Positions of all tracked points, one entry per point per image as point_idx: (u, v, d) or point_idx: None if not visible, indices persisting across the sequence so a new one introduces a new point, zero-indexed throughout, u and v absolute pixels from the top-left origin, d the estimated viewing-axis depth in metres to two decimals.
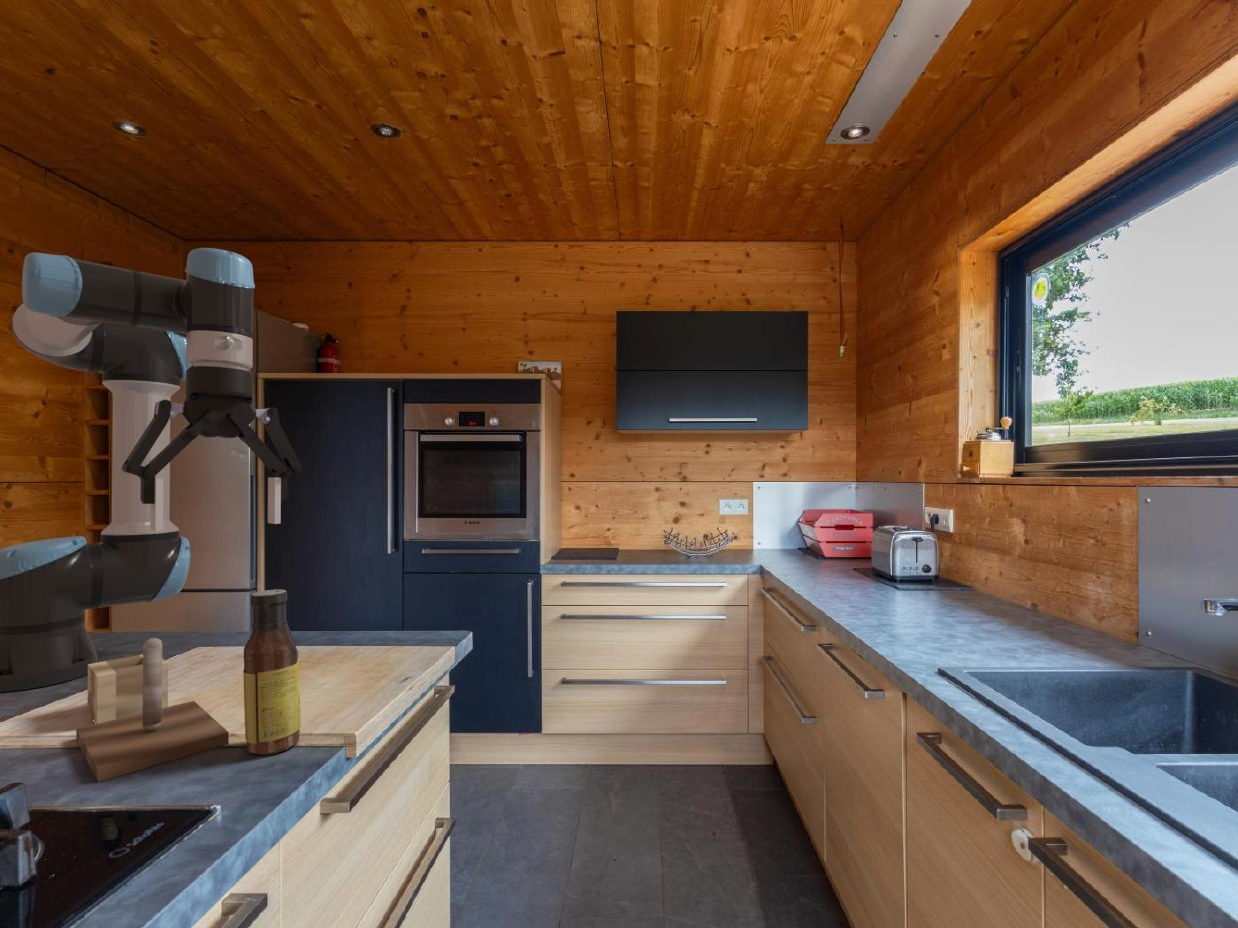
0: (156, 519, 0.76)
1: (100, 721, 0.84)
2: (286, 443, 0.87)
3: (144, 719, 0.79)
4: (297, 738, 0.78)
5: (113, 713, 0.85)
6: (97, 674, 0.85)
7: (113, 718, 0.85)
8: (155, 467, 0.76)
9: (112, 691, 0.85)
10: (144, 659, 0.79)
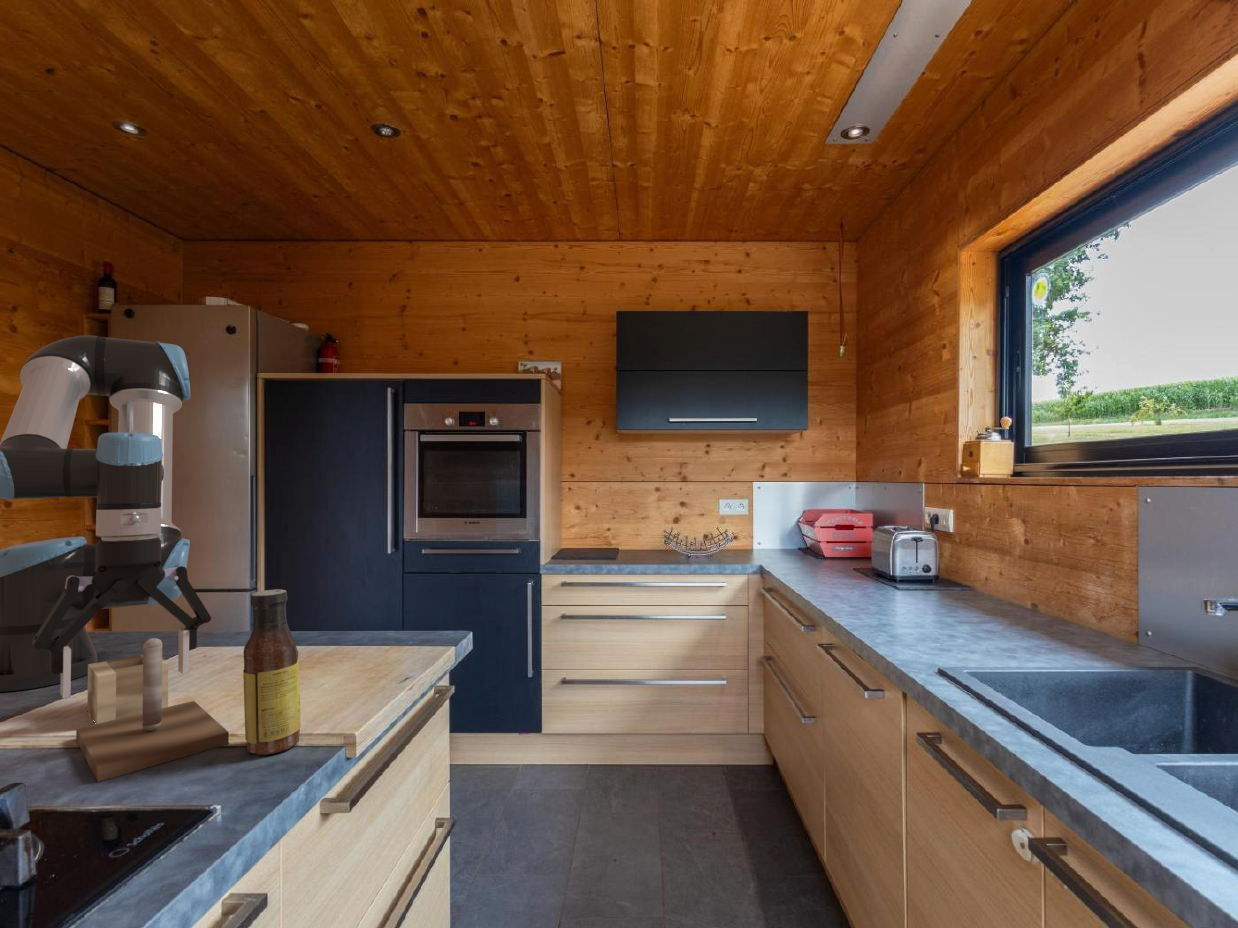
0: (64, 687, 0.83)
1: (100, 721, 0.84)
2: (195, 597, 0.94)
3: (144, 719, 0.79)
4: (297, 738, 0.78)
5: (113, 713, 0.85)
6: (97, 674, 0.85)
7: (113, 718, 0.85)
8: (63, 639, 0.83)
9: (112, 691, 0.85)
10: (144, 659, 0.79)
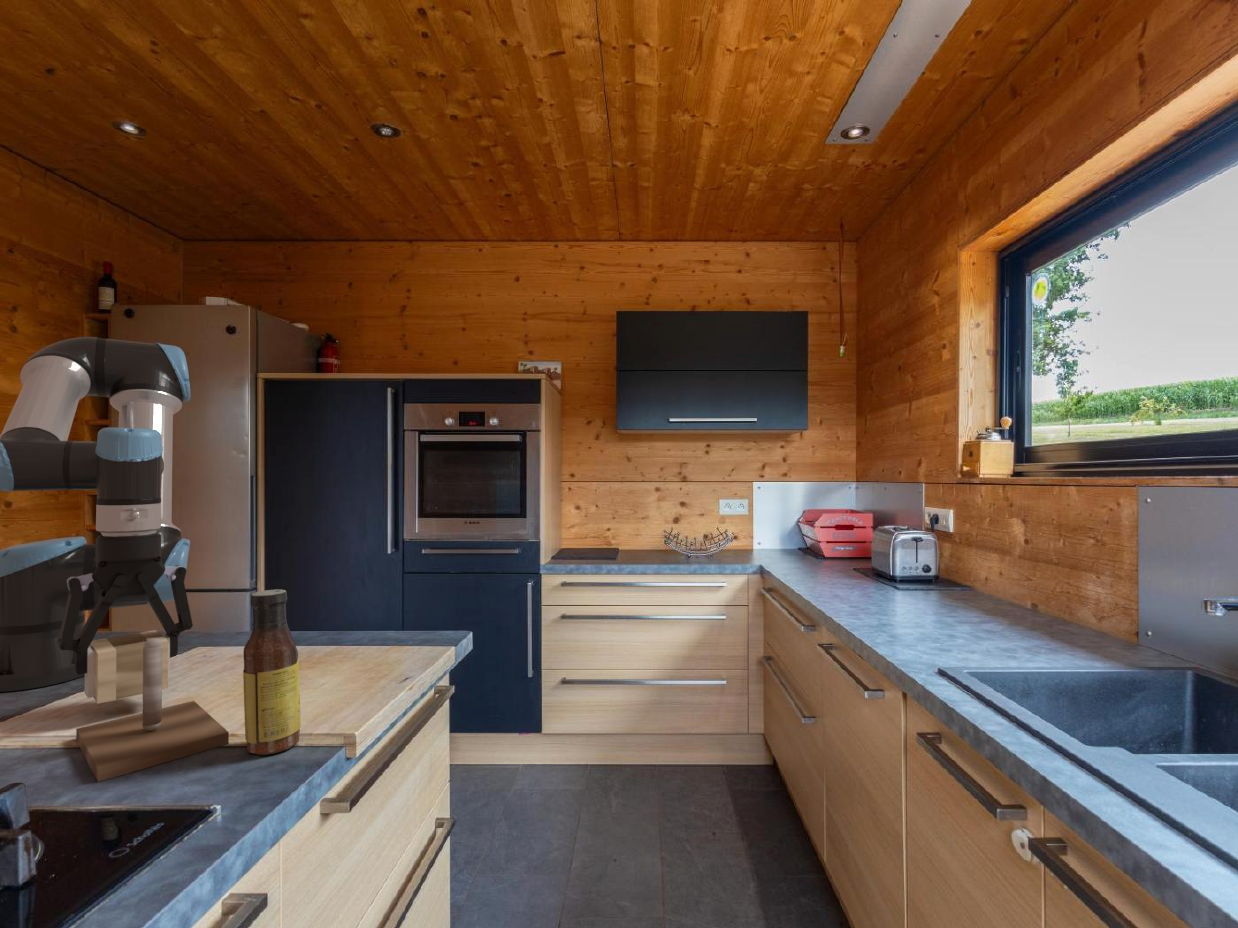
0: (88, 687, 0.85)
1: (100, 697, 0.85)
2: (184, 601, 0.94)
3: (144, 719, 0.79)
4: (297, 738, 0.78)
5: (113, 689, 0.86)
6: (97, 651, 0.85)
7: (113, 694, 0.86)
8: (85, 640, 0.85)
9: (112, 668, 0.85)
10: (144, 659, 0.79)
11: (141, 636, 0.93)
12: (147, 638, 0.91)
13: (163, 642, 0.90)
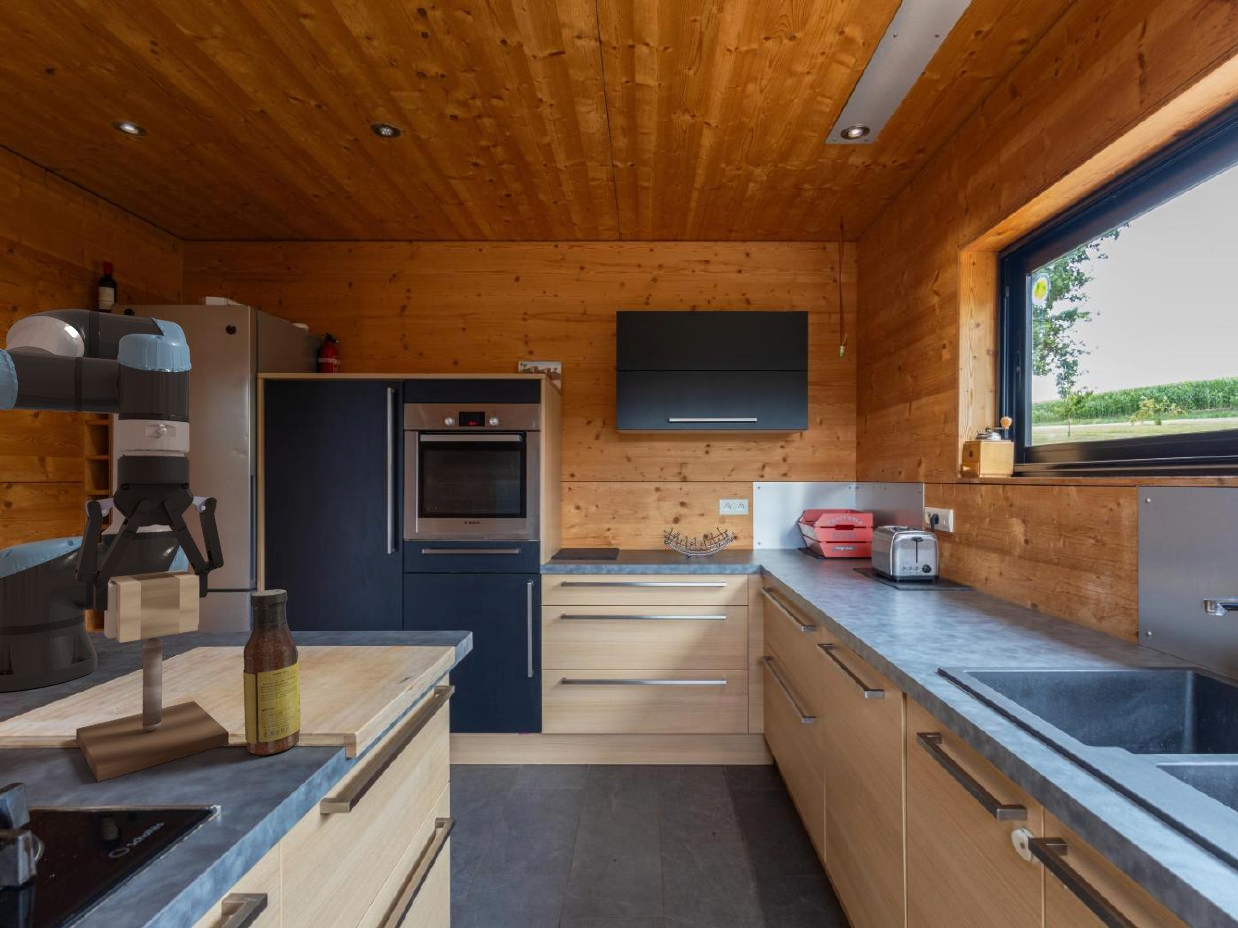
0: (109, 626, 0.75)
1: (123, 636, 0.74)
2: (214, 536, 0.84)
3: (144, 719, 0.79)
4: (297, 738, 0.78)
5: (138, 628, 0.75)
6: (120, 583, 0.75)
7: (138, 633, 0.75)
8: (106, 572, 0.75)
9: (136, 603, 0.75)
10: (144, 659, 0.79)
11: (167, 574, 0.82)
12: (174, 575, 0.81)
13: (192, 577, 0.80)
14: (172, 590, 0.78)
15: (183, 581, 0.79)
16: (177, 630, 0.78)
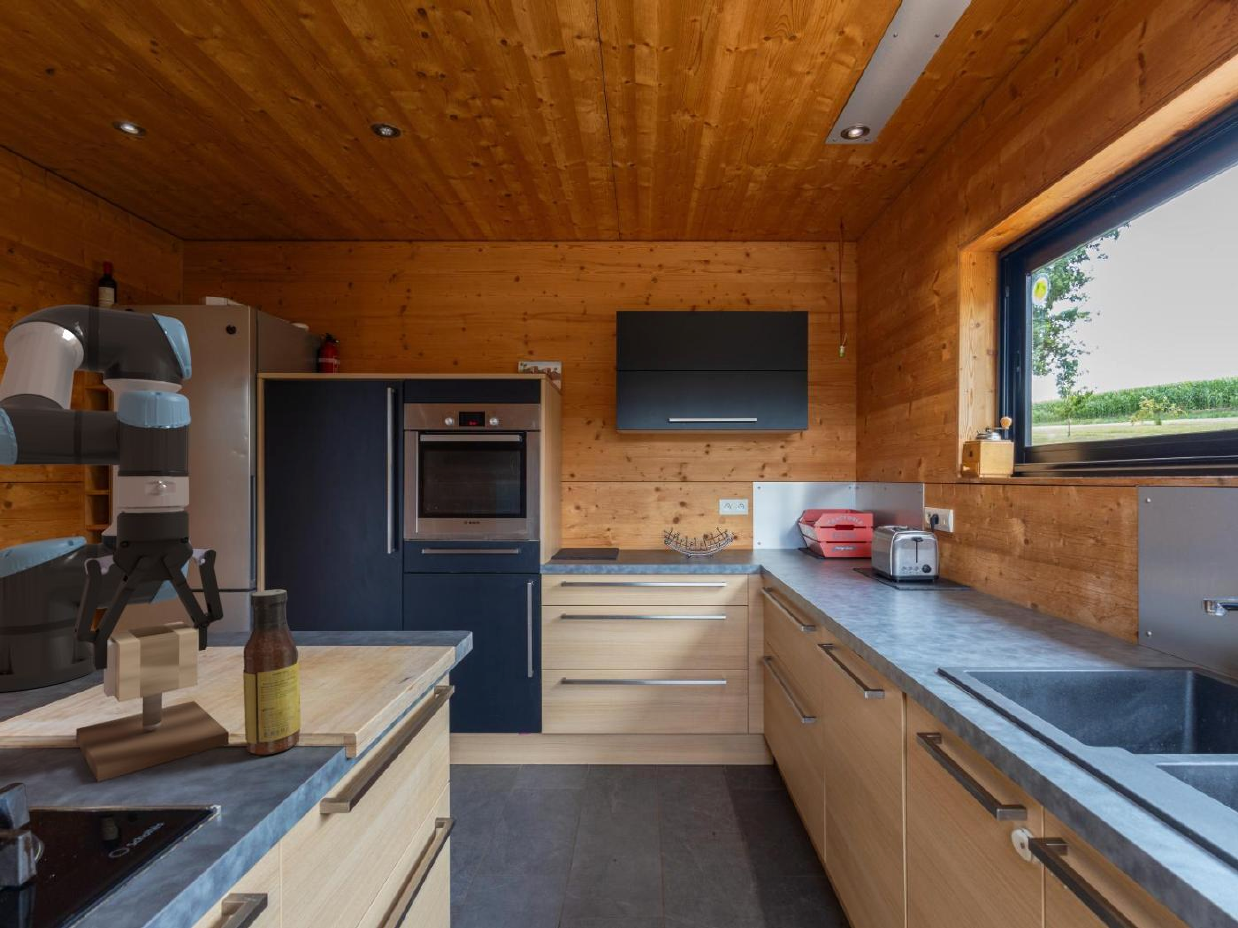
0: (108, 684, 0.75)
1: (123, 695, 0.74)
2: (214, 588, 0.84)
3: (144, 719, 0.79)
4: (297, 738, 0.78)
5: (137, 686, 0.75)
6: (119, 642, 0.75)
7: (137, 692, 0.75)
8: (105, 631, 0.75)
9: (136, 661, 0.75)
10: None
11: (166, 627, 0.82)
12: (173, 629, 0.81)
13: (192, 633, 0.80)
14: (171, 647, 0.78)
15: (183, 636, 0.79)
16: (176, 686, 0.78)
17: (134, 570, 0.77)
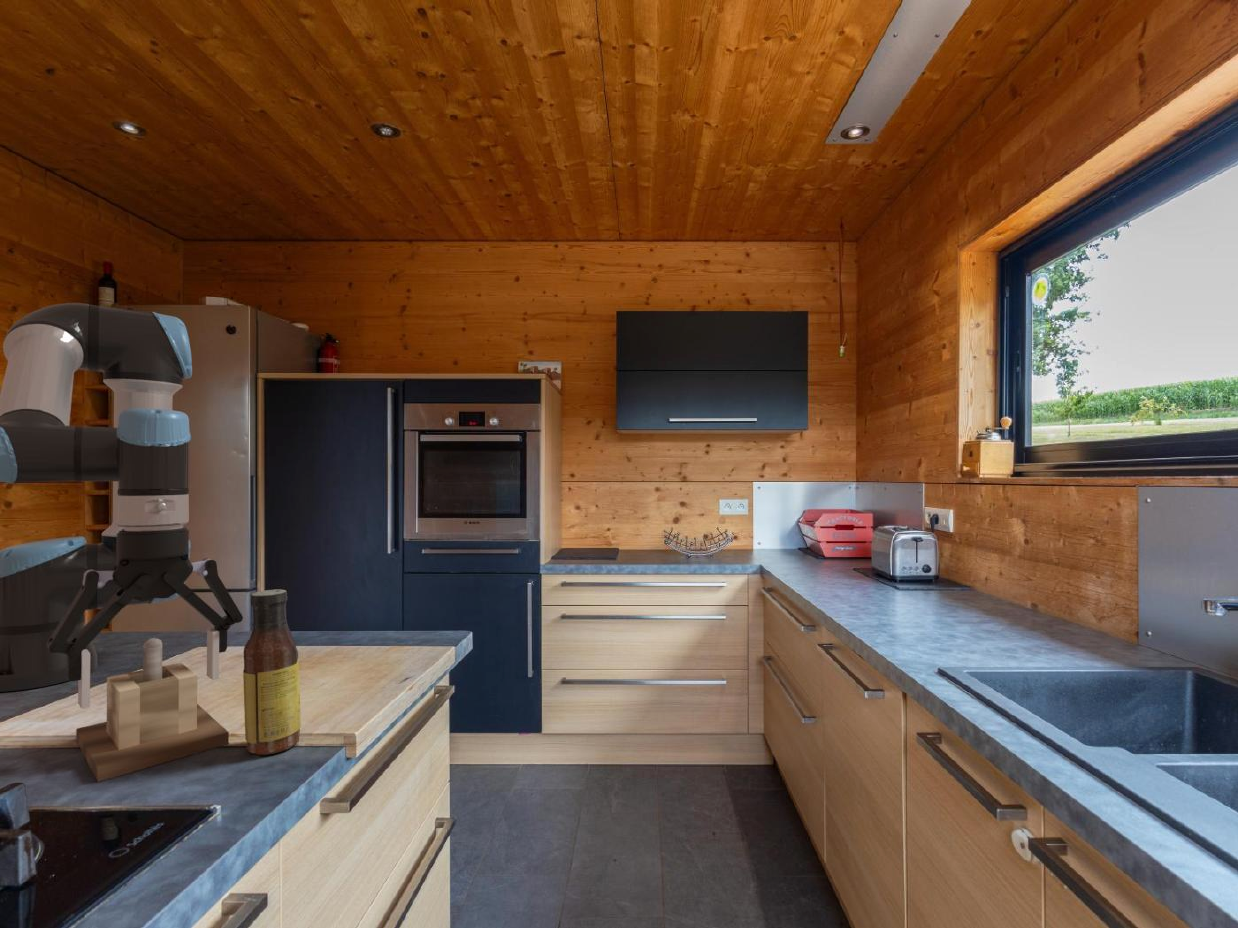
0: (82, 696, 0.73)
1: (122, 742, 0.74)
2: (225, 594, 0.85)
3: None
4: (297, 738, 0.78)
5: (137, 733, 0.75)
6: (119, 689, 0.75)
7: (137, 739, 0.75)
8: (82, 642, 0.73)
9: (136, 708, 0.75)
10: (144, 659, 0.79)
11: (166, 670, 0.82)
12: (173, 672, 0.81)
13: (191, 677, 0.80)
14: (171, 692, 0.78)
15: (182, 681, 0.79)
16: (176, 731, 0.78)
17: (134, 588, 0.77)
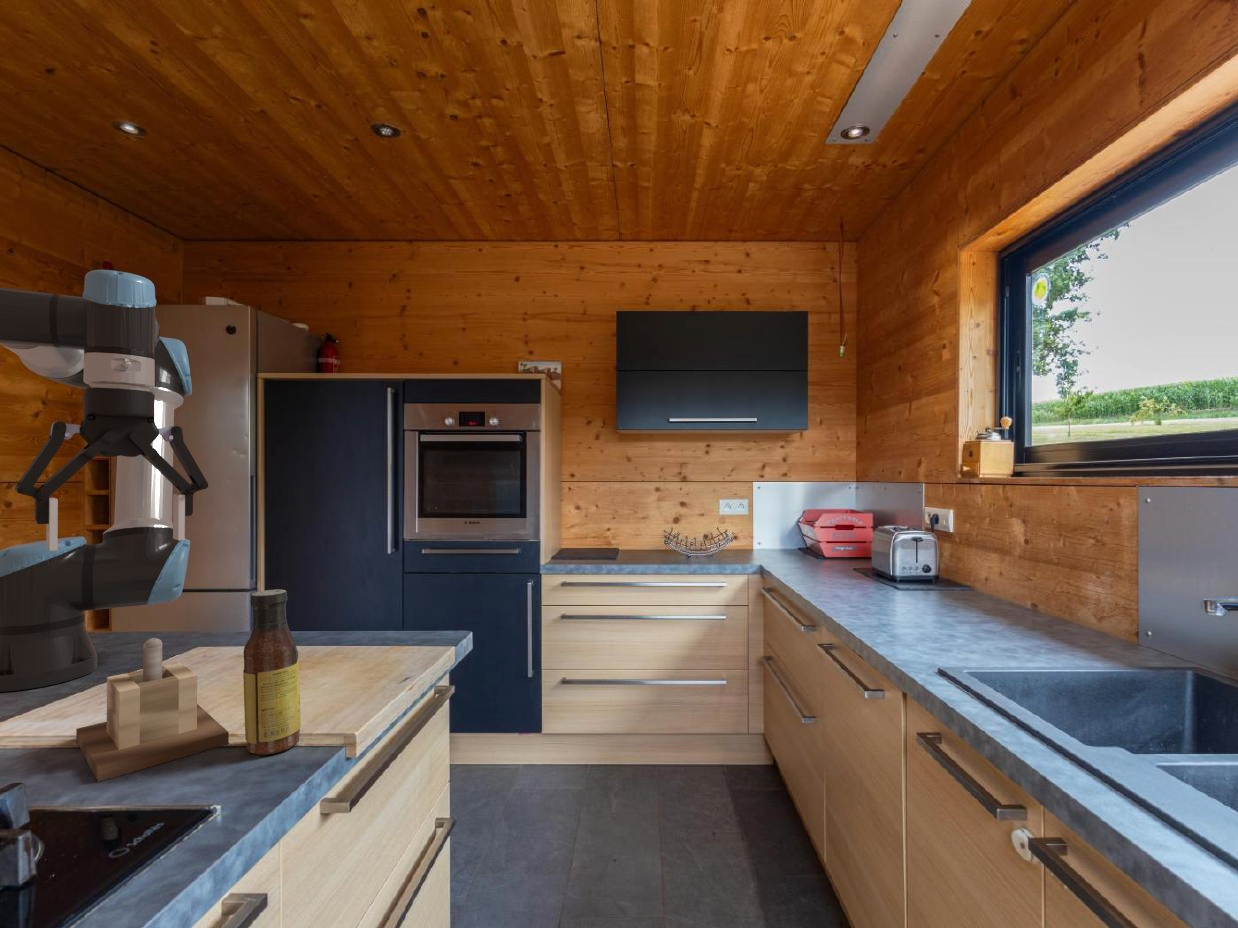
0: (50, 539, 0.77)
1: (122, 742, 0.74)
2: (191, 461, 0.88)
3: None
4: (297, 738, 0.78)
5: (137, 733, 0.75)
6: (119, 689, 0.75)
7: (137, 739, 0.75)
8: (49, 488, 0.77)
9: (136, 708, 0.75)
10: (144, 659, 0.79)
11: (166, 670, 0.82)
12: (173, 672, 0.81)
13: (191, 677, 0.80)
14: (171, 692, 0.78)
15: (182, 681, 0.79)
16: (176, 731, 0.78)
17: (100, 443, 0.80)
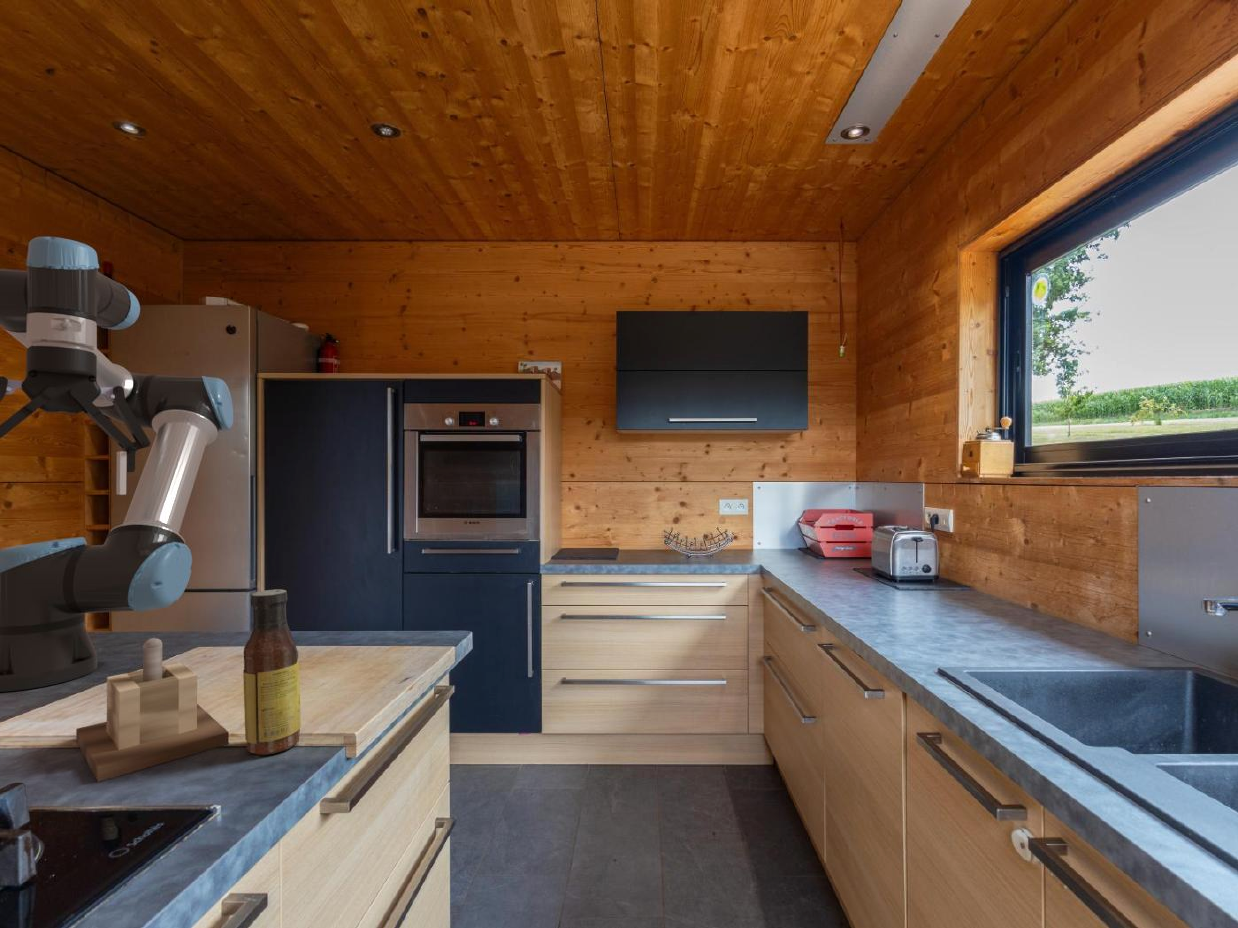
0: None
1: (122, 742, 0.74)
2: (133, 419, 0.93)
3: None
4: (297, 738, 0.78)
5: (137, 733, 0.75)
6: (119, 689, 0.75)
7: (137, 739, 0.75)
8: None
9: (136, 708, 0.75)
10: (144, 659, 0.79)
11: (166, 670, 0.82)
12: (173, 672, 0.81)
13: (191, 677, 0.80)
14: (171, 692, 0.78)
15: (182, 681, 0.79)
16: (176, 731, 0.78)
17: (41, 398, 0.85)
